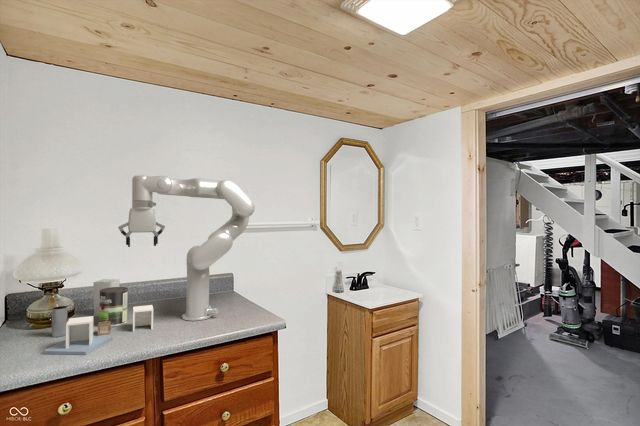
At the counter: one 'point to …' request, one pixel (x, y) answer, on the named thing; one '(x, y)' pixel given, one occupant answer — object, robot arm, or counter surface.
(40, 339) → the counter surface
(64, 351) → the slate board
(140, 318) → the plain white cube box
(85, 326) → the white box
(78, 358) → the counter surface
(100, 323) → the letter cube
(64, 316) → the grey cylinder
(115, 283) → the skincare box
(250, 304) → the counter surface
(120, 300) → the coffee can
